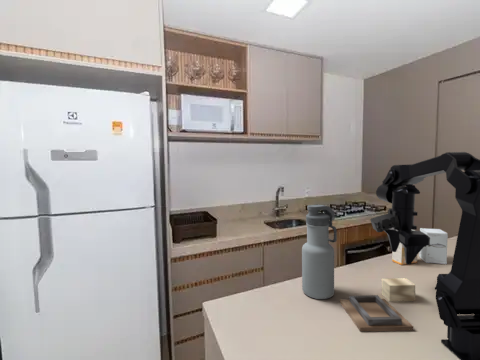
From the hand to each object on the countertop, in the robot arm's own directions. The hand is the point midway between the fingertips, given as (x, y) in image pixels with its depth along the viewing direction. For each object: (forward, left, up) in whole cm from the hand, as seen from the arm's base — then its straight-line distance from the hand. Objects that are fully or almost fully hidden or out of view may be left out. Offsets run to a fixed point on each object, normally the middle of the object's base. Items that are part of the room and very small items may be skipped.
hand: (400, 257), depth 79 cm
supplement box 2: (+27, -30, -12) cm, 42 cm away
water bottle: (+3, +24, -12) cm, 27 cm away
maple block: (-1, +1, -12) cm, 12 cm away
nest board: (-10, +13, -12) cm, 20 cm away
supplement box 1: (+26, -18, -12) cm, 34 cm away
